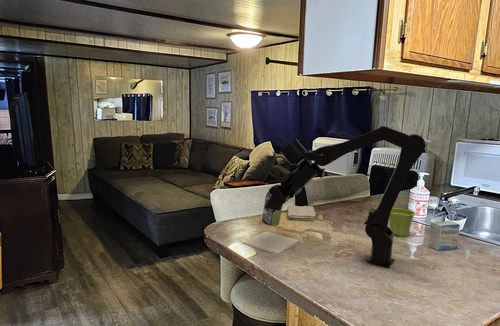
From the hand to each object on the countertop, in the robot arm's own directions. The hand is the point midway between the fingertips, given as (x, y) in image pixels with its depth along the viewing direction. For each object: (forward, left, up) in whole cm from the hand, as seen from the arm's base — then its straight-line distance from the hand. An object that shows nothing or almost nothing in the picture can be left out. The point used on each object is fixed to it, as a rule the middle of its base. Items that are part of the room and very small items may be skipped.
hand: (269, 205), depth 116 cm
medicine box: (+33, -48, -13) cm, 60 cm away
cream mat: (0, -1, -13) cm, 13 cm away
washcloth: (+36, +7, -13) cm, 39 cm away
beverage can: (0, -1, -7) cm, 7 cm away
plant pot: (+38, -33, -13) cm, 52 cm away
